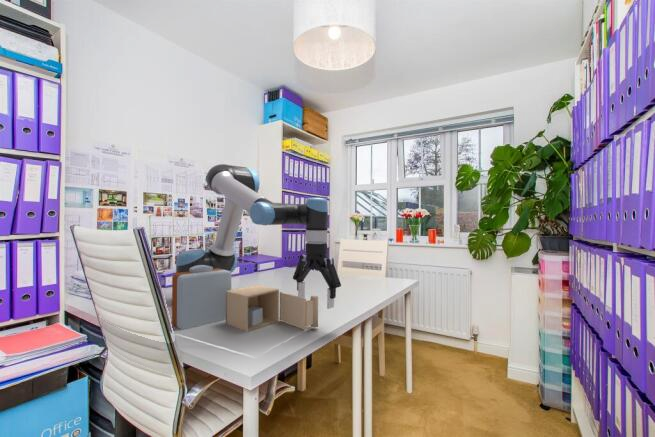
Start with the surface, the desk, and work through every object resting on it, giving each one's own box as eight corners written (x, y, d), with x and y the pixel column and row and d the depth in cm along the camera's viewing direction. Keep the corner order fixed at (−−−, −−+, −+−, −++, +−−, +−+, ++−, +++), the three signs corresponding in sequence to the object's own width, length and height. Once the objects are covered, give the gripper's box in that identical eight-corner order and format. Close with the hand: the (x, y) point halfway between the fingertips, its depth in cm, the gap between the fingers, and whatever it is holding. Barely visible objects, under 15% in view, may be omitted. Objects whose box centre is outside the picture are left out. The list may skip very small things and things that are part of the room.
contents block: (242, 323, 110) (242, 309, 110) (252, 319, 115) (252, 305, 115) (252, 325, 108) (252, 311, 108) (262, 321, 112) (262, 307, 112)
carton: (226, 324, 111) (226, 290, 111) (258, 315, 121) (258, 284, 121) (246, 332, 103) (246, 296, 103) (278, 322, 114) (278, 289, 114)
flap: (306, 330, 102) (306, 299, 102) (279, 319, 113) (279, 292, 113) (319, 326, 107) (319, 296, 107) (291, 316, 117) (292, 289, 117)
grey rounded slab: (221, 314, 123) (221, 262, 123) (232, 319, 116) (232, 264, 116) (171, 325, 110) (171, 267, 110) (180, 332, 103) (180, 270, 103)
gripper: (352, 244, 103) (351, 308, 103) (298, 239, 119) (297, 295, 119) (338, 245, 97) (336, 314, 97) (283, 240, 113) (282, 299, 113)
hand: (315, 304), depth 108 cm, fingers open, 13 cm apart
